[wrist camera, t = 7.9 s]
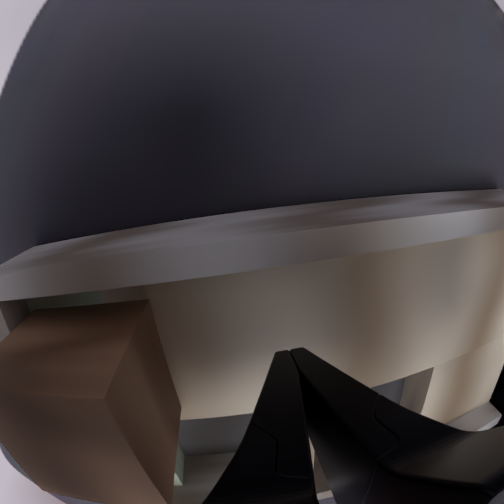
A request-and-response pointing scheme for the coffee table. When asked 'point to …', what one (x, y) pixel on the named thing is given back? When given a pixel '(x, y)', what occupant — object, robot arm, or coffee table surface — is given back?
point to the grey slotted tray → (297, 307)
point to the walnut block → (91, 403)
